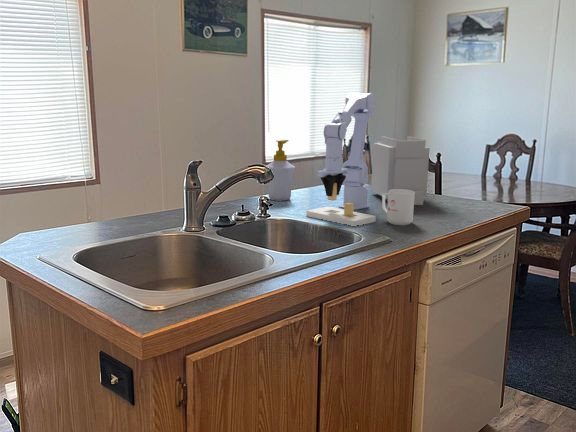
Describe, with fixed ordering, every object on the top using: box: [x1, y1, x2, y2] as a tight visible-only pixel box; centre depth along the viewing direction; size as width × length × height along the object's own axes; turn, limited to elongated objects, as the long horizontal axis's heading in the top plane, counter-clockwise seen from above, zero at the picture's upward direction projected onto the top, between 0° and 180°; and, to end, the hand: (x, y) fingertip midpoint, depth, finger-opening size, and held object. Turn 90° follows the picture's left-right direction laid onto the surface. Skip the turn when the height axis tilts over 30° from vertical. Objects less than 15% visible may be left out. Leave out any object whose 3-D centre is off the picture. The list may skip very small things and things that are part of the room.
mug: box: [381, 189, 415, 226], centre depth 192 cm, size 12×9×11 cm
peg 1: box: [327, 182, 338, 201], centre depth 197 cm, size 3×3×6 cm
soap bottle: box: [265, 139, 296, 202], centre depth 229 cm, size 13×13×25 cm
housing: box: [305, 206, 377, 227], centre depth 196 cm, size 12×22×2 cm, turn 44°
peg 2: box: [343, 203, 354, 217], centre depth 193 cm, size 3×3×6 cm
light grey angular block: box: [370, 135, 431, 206], centre depth 234 cm, size 17×27×26 cm, turn 9°
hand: (332, 195), depth 198 cm, fingers closed on peg 1, 3 cm apart
